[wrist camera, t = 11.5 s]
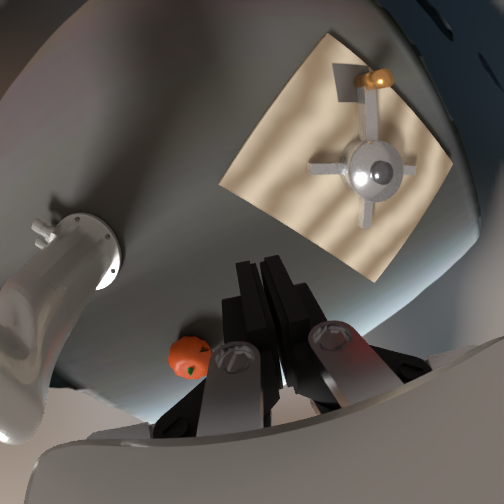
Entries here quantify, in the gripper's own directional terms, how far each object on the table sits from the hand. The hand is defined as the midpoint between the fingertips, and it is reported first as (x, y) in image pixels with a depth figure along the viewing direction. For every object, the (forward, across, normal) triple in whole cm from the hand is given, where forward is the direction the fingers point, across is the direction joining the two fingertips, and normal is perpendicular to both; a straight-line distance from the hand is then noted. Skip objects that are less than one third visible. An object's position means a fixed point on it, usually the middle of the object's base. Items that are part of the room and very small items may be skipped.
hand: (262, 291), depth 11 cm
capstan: (+25, -19, -2) cm, 31 cm away
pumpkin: (+27, +12, +27) cm, 40 cm away
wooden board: (+27, -18, 0) cm, 33 cm away
